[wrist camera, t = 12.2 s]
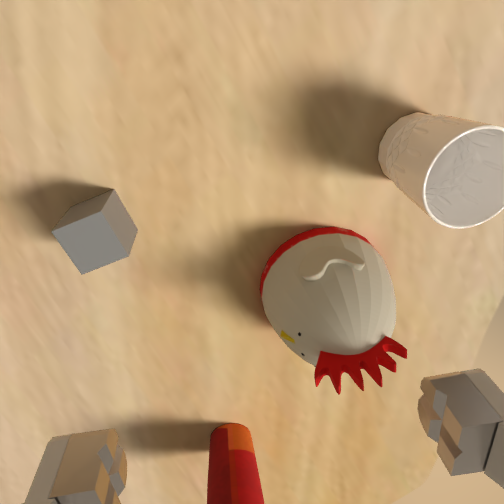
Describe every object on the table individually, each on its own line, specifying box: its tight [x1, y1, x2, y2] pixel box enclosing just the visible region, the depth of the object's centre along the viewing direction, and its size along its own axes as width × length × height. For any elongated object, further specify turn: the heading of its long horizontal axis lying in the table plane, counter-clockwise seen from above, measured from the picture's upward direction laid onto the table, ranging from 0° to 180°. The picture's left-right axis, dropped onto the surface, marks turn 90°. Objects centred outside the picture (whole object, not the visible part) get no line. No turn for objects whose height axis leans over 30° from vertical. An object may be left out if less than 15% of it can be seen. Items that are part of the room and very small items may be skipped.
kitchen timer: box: [260, 227, 407, 394], centre depth 38 cm, size 14×14×15 cm
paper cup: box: [207, 423, 264, 504], centre depth 48 cm, size 8×8×14 cm
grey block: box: [51, 189, 138, 274], centre depth 35 cm, size 4×4×6 cm
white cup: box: [378, 112, 504, 229], centre depth 34 cm, size 8×8×10 cm
